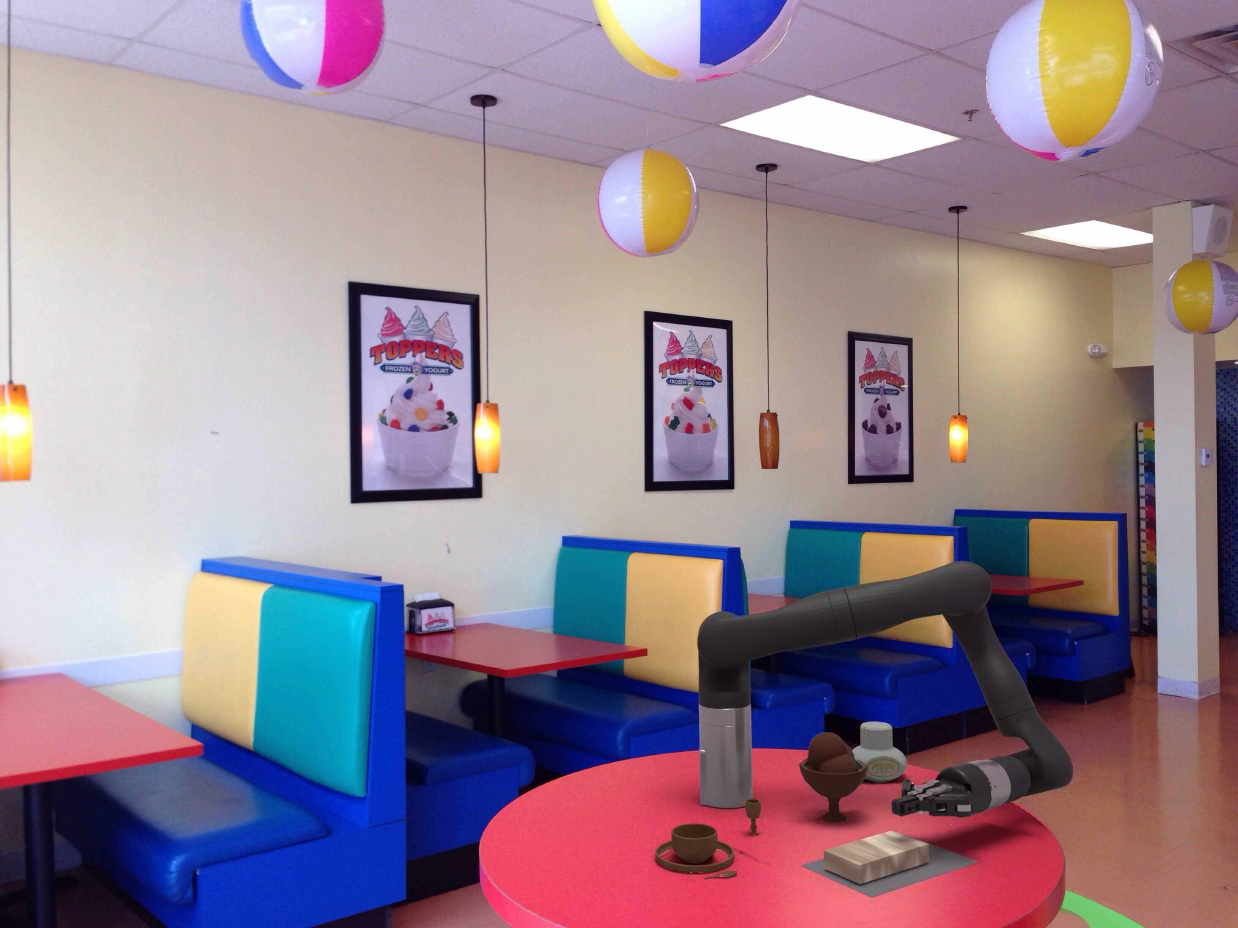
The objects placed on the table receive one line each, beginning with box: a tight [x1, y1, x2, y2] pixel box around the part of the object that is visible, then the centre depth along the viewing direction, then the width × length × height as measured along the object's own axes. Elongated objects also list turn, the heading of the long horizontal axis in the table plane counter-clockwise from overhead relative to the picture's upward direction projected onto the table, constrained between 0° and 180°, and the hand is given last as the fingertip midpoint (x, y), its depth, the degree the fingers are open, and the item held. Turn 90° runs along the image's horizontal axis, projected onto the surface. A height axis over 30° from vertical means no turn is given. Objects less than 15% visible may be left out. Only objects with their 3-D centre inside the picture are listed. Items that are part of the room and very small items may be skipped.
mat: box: [799, 834, 979, 898], centre depth 149 cm, size 22×14×1 cm, turn 122°
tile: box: [823, 830, 930, 885], centre depth 148 cm, size 3×7×14 cm
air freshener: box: [852, 721, 908, 783], centre depth 194 cm, size 11×8×10 cm
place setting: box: [654, 798, 762, 880], centre depth 156 cm, size 18×20×6 cm
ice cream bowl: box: [798, 731, 868, 823], centre depth 170 cm, size 11×11×15 cm
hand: (895, 808), depth 150 cm, fingers closed
